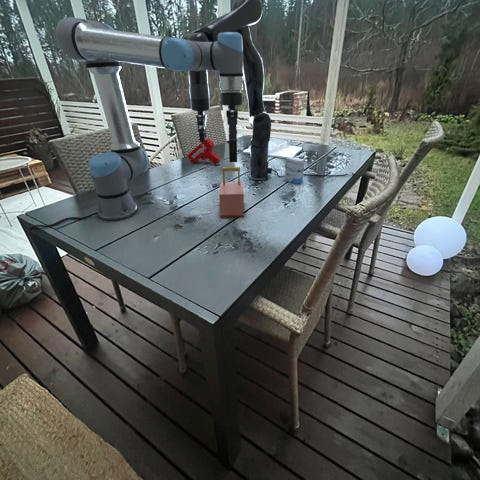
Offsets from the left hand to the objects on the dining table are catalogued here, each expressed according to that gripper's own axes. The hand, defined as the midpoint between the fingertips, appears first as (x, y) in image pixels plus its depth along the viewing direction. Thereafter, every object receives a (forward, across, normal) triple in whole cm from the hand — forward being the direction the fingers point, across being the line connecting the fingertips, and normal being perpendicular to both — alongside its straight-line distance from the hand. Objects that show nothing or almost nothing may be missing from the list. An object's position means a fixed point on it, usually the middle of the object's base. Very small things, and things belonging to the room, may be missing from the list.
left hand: (233, 156), depth 101 cm
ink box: (+23, +35, -32) cm, 53 cm away
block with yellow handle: (+14, +3, +1) cm, 15 cm away
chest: (+23, +2, +1) cm, 23 cm away
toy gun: (+23, +69, +17) cm, 75 cm away
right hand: (-2, +19, +12) cm, 23 cm away
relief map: (+23, +95, -30) cm, 102 cm away
